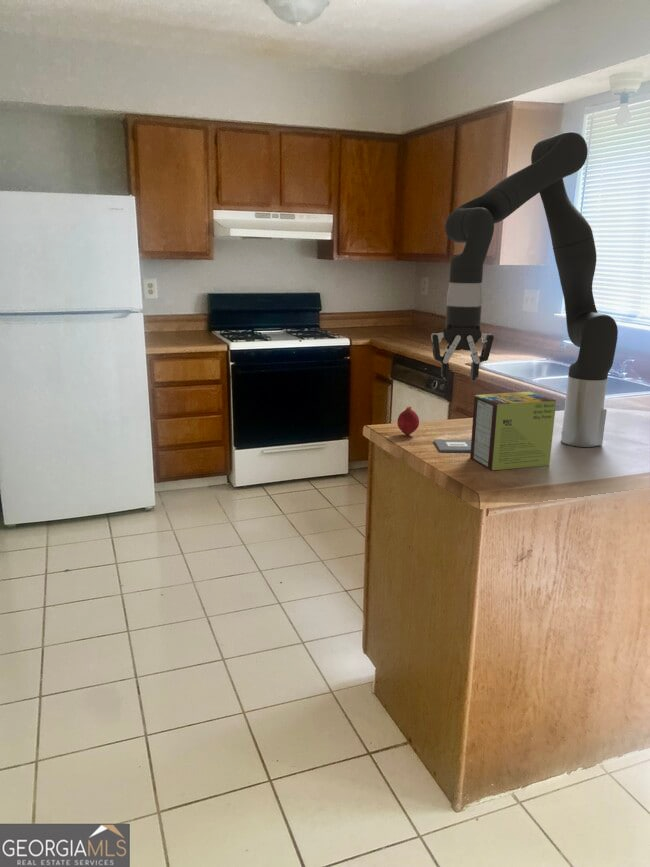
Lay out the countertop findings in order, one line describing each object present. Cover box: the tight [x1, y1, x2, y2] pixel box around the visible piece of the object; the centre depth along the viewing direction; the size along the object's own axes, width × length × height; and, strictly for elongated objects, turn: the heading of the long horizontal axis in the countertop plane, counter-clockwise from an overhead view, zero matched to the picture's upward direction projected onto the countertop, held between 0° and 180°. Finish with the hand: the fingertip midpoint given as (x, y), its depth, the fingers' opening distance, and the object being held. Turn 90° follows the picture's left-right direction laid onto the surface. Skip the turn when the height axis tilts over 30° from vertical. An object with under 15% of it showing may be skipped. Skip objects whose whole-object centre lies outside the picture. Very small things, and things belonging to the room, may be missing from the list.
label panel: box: [433, 438, 471, 453], centre depth 162 cm, size 19×9×1 cm, turn 90°
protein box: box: [469, 391, 557, 471], centre depth 149 cm, size 10×15×16 cm
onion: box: [396, 405, 420, 436], centre depth 171 cm, size 6×6×8 cm
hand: (459, 379), depth 145 cm, fingers open, 5 cm apart
